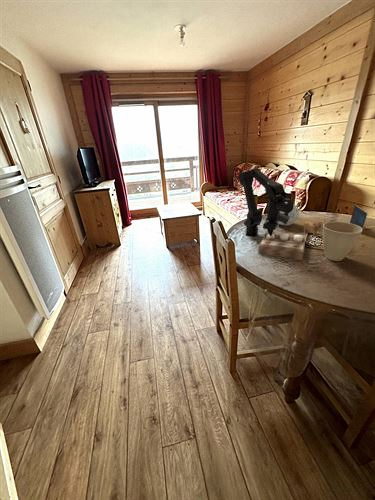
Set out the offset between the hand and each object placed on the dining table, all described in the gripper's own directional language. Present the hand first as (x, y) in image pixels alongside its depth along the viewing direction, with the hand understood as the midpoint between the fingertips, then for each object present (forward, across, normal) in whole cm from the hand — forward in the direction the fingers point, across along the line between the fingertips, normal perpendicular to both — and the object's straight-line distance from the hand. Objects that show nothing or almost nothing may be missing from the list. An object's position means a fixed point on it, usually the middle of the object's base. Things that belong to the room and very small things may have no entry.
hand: (270, 235), depth 122 cm
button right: (+2, 0, -14) cm, 14 cm away
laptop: (+5, +37, -38) cm, 53 cm away
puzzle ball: (+5, +34, -4) cm, 35 cm away
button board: (+5, -3, -7) cm, 9 cm away
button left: (+3, 0, 0) cm, 3 cm away
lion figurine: (+5, +22, -20) cm, 31 cm away
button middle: (+2, 0, -7) cm, 7 cm away
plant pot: (+5, -6, -31) cm, 32 cm away
